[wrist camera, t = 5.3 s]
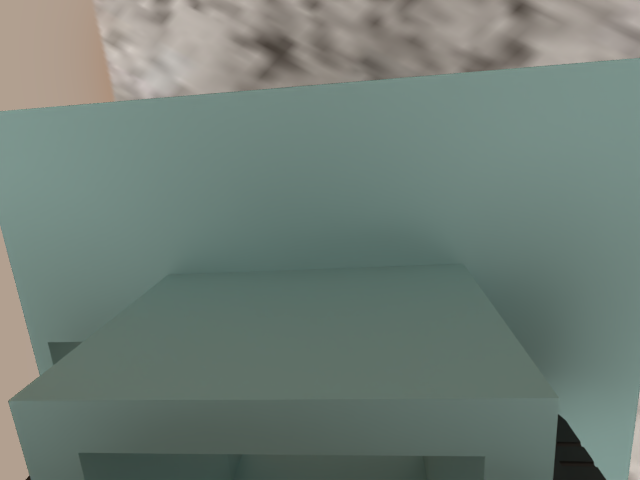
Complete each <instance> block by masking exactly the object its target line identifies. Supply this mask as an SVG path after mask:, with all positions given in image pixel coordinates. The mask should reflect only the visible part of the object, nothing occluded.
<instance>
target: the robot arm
mask: <svg viewBox="0 0 640 480" xmlns="http://www.w3.org/2000/svg"><path fill="white" fill-rule="evenodd" d="M26 480H31V479H30V475H29V477H28V478H27V479H26ZM553 480H606V479H605V477H604V476H603V474H602V473H601V471H600V470H599V468H598V467H595V465H594V461H593V459H592V458H591V456H590V455H589V454H588V452H587V451H586V449H585V448H584V447H582V446H581V442H580V440H579V439H578V437H577V436H576V434H575V433H574V432H573V430H572V429H571V427H570V426H569V424H568V423H567V421H566V420H565V419H564V418H563V417H561V416H560V415H559V414H558V421H557V434H556V447H555V459H554V472H553Z"/></svg>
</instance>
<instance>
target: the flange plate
mask: <svg viewBox="0 0 640 480" xmlns="http://www.w3.org/2000/svg"><path fill="white" fill-rule="evenodd" d="M0 226H1V230H2V233H3V237H4V241H5V245H6V248H7V252H8V256H9V260H10V264H11V268H12V272H13V275H14V279H15V283H16V287H17V290H18V294H19V298H20V302H21V306H22V310H23V313H24V317H25V321H26V325H27V329H28V332H29V336H30V340H31V344H32V348H33V351H34V355H35V359H36V363H37V366H38V370H39V374H40V376H39V377H38V378H37V379H35V380H34V381H33V382H32V383H30V384H29V385H28V386H26V387H25V388H24V389H23V390H21V391H20V392H19V393H17V394H16V395H15V396H14V397H12V398H11V399H10V400H9V401H8V402H9V406H10V409H11V412H12V416H13V420H14V423H15V426H16V430H17V434H18V437H19V440H20V444H21V447H22V451H23V454H24V457H25V461H26V465H27V468H28V471H29V475H30V479H31V480H553V472H554V459H555V447H556V434H557V421H558V414H559V415H560V416H561V417H563V418H564V419H565V420H566V421H567V423H568V424H569V426H570V427H571V429H572V430H573V432H574V433H575V434H576V436H577V437H578V439H579V440H580V442H581V446H582V447H584V448H585V449H586V451H587V452H588V454H589V455H590V456H591V458H592V459H593V461H594V465H595V467H598V468H599V470H600V471H601V473H602V474H603V476H604V477H605V479H606V480H628V475H629V467H630V459H631V452H632V444H633V437H634V429H635V421H636V414H637V406H638V398H639V391H640V58H634V59H622V60H610V61H598V62H586V63H574V64H562V65H550V66H538V67H526V68H514V69H502V70H490V71H478V72H466V73H454V74H442V75H430V76H418V77H406V78H394V79H382V80H370V81H358V82H346V83H334V84H322V85H310V86H298V87H286V88H274V89H262V90H250V91H238V92H226V93H214V94H202V95H190V96H178V97H166V98H154V99H142V100H130V101H117V102H106V103H93V104H82V105H71V106H70V105H69V106H57V107H46V108H34V109H21V110H9V111H0Z"/></svg>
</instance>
